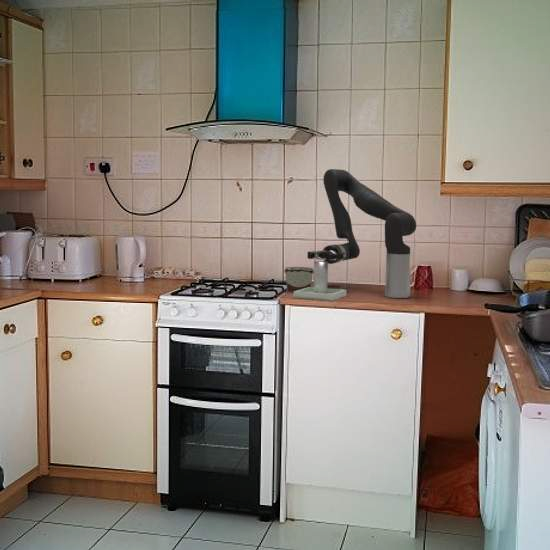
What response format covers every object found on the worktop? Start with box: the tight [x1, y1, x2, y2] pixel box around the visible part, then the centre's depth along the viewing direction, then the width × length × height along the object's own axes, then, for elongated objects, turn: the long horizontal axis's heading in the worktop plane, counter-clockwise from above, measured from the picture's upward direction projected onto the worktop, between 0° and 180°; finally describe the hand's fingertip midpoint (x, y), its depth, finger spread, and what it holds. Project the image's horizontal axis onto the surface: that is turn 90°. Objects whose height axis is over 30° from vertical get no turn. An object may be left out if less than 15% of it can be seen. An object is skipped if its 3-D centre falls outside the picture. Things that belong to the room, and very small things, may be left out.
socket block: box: [327, 284, 348, 293], centre depth 312 cm, size 9×9×2 cm
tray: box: [293, 286, 348, 302], centre depth 298 cm, size 16×16×2 cm
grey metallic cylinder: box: [313, 260, 329, 294], centre depth 298 cm, size 5×5×13 cm
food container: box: [283, 266, 314, 293], centre depth 312 cm, size 12×6×10 cm, turn 84°
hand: (319, 256), depth 295 cm, fingers open, 8 cm apart
